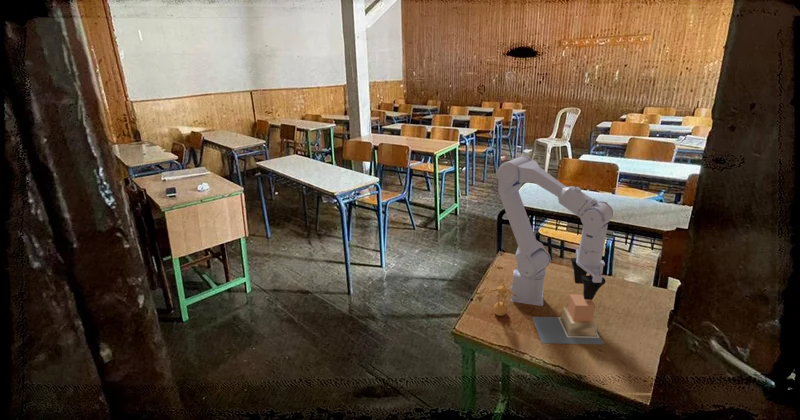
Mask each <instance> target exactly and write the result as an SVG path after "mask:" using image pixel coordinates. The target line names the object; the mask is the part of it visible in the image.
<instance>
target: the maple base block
mask: <svg viewBox="0 0 800 420" xmlns="http://www.w3.org/2000/svg"><path fill="white" fill-rule="evenodd" d="M567 309H568V306H567V307H565V306H564V307H562V311H561V313H562V314H561V317H562V318H561V319H562V322H563V324H564V326H565V328H566V330H567V332H568V334H569V335H572V336H596V332H598V326H599V323H598V320H596V317H595V316H594V315H593V320H592V321H573V320H572V318H571V316H570V314H569V312H568V310H567Z"/></svg>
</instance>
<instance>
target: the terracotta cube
mask: <svg viewBox="0 0 800 420" xmlns="http://www.w3.org/2000/svg"><path fill="white" fill-rule="evenodd" d="M567 307H568V309H567V310H568V312H569V314H570V316H571V318H572V320H573V321H592V320H593V316H594V315H595V314H594V313H595V309H596V305H595V303H594V301H593V299H592V300H585V299H584V296H583V294H572V293H571V294H570V293H569V299H568V304H567Z"/></svg>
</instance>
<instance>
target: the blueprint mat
mask: <svg viewBox="0 0 800 420" xmlns="http://www.w3.org/2000/svg"><path fill="white" fill-rule="evenodd" d="M561 318H562V316H557V317H556V316H532V321H533V323H534V326H535V328H536V331H537V334H538V336H539V339H540V342H541V344H565V345H567V344H569V345H573V344H574V345H575V344H576V345H605V343H604V341H603V340H602V338H601V336H600V335H599V332H598V331H597V332H596V336H572V335H569V334H568V332H567V330H566V328H565V326H564V324H563V322H562V319H561Z"/></svg>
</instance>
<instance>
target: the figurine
mask: <svg viewBox="0 0 800 420" xmlns="http://www.w3.org/2000/svg"><path fill="white" fill-rule="evenodd" d="M510 290H511V289H508V288H507V287H506V285H505V283H504V282H502V283H501V284H500V286H498V287H496V288H493V289H490V290H489V291H488V292H487V293H486V295H489V294H490V293H493V292H498V293H496V298H497V299H496V303H495V304H494V305H493V312H494V313H495V315H496V316H499V317H503V316H505V315H506V314H507V313H508V306H507V304H506V299H507V297H508V295H507V294H506V293H510V295H511V294H513V295H514V296H515V297H516V298H517V296H516V295H515V294H514V293H513V292H512V291H510ZM500 298H502V299H503V300H502V301H500Z"/></svg>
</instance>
